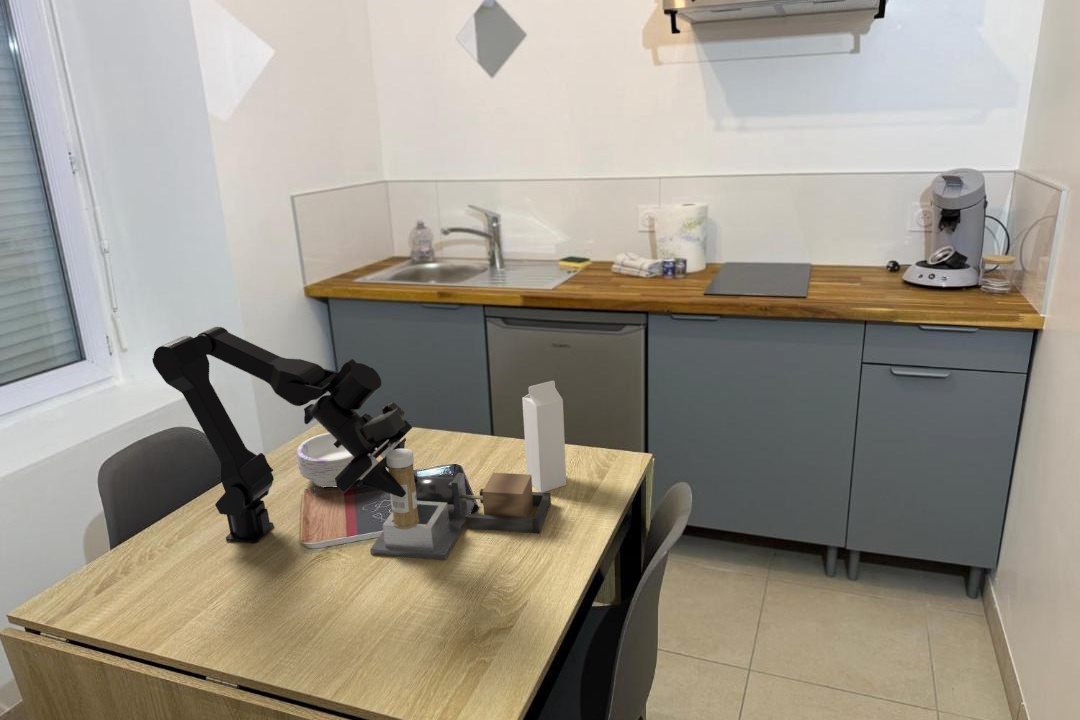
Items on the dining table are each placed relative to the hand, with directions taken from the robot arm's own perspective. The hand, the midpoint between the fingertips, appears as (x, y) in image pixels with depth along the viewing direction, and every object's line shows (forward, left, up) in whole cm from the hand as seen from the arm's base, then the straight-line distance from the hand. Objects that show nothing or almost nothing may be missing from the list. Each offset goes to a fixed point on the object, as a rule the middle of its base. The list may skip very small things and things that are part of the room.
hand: (410, 489), depth 135 cm
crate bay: (+13, +15, -13) cm, 24 cm away
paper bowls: (-28, +26, -13) cm, 40 cm away
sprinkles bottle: (-1, 0, -7) cm, 7 cm away
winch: (+1, +9, -13) cm, 16 cm away
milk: (+17, +29, -13) cm, 36 cm away
